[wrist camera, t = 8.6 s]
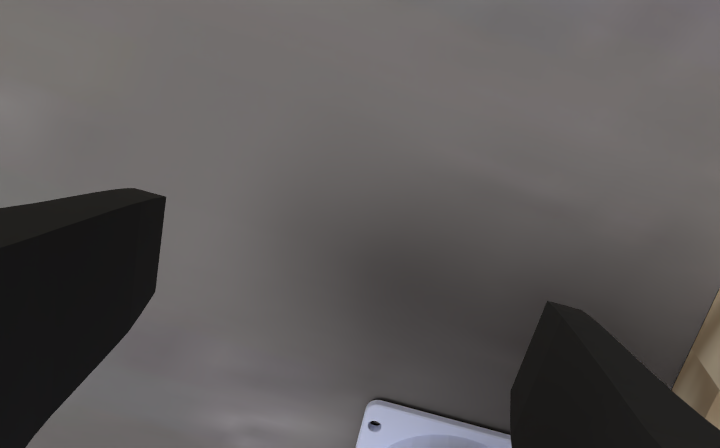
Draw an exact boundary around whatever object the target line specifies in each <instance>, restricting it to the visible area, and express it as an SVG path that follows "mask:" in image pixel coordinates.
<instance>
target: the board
mask: <svg viewBox="0 0 720 448" xmlns="http://www.w3.org/2000/svg"><path fill="white" fill-rule="evenodd" d="M672 391H673V392H674V393H675V394H676V395H677V396H679V397H680V398H681V399H682V400H683V401H685V402H686V403H687V404H688V405H689V406H691V407H692V408H693V409H694V410H695V411H697V412H698V413H699V414H700V415H701V416H703V417H704V418H705V419H706V420H708V421H709V422H710V423H711V424H713V425H714V426H715V427H717V428H718V429H719V430H720V289H719V291H718V293H717V295H716V298H715V300H714V302H713V304H712V306H711V308H710V310H709V312H708V314H707V317H706V319H705V321H704V323H703V325H702V327H701V329H700V331H699V333H698V336H697V338H696V340H695V342H694V344H693V346H692V348H691V350H690V352H689V355H688V357H687V359H686V361H685V363H684V365H683V367H682V369H681V371H680V373H679V376H678V378H677V380H676V382H675V384H674V386H673V388H672Z"/></svg>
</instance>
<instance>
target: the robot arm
mask: <svg viewBox="0 0 720 448" xmlns="http://www.w3.org/2000/svg"><path fill="white" fill-rule="evenodd" d="M165 202H166V197H165V196H161V195H157V194H154V193H150V192H146V191H143V190H139V189H135V188H125V189H115V190H108V191H101V192H95V193H89V194H84V195H78V196H72V197H67V198H61V199H56V200H50V201H44V202H39V203H33V204H26V205H19V206H12V207H6V208H0V448H25V447H26V446H27V444H28V443H29V442H30V440H31V439H32V438H33V436H34V435H35V434H36V433H37V432H38V431H39V429H40V428H41V427H42V426H43V425H44V423H45V422H46V421H47V420H48V419H49V418H50V416H51V415H52V414H53V413H54V412H55V411H56V410H57V409H58V408H59V407H60V405H61V404H62V403H63V402H64V401H65V400H66V399H67V398H68V397H69V396H70V395H71V394H72V393H73V391H74V390H75V389H76V388H77V387H78V386H79V385H80V384H81V383H82V382H83V381H84V380H85V379H86V377H87V376H88V375H89V374H90V373H91V372H92V371H93V370H94V369H95V368H96V367H97V366H98V365H99V363H100V362H101V361H102V360H103V359H104V358H105V357H106V356H107V355H108V354H109V353H110V351H111V350H112V349H113V348H114V347H115V346H116V345H117V344H118V343H119V342H120V340H121V339H122V338H123V337H124V336H125V335H126V334H127V333H128V331H129V330H130V329H131V327H132V326H133V324H134V323H135V321H136V320H137V319H138V317H139V316H140V314H141V313H142V311H143V310H144V308H145V307H146V305H147V304H148V302H149V300H150V299H151V297H152V296H153V294H154V293H155V289H156V280H157V271H158V263H159V254H160V245H161V237H162V228H163V219H164V211H165ZM371 421H377V422H379V423H380V425H378V426H375V425H372V424H371V423H370V422H371ZM510 428H511V435H508V434H504V433H501V432H497V431H493V430H490V429H486V428H482V427H478V426H475V425H471V424H467V423H464V422H460V421H456V420H453V419H449V418H445V417H441V416H438V415H434V414H430V413H427V412H423V411H419V410H415V409H412V408H408V407H404V406H401V405H397V404H393V403H390V402H386V401H382V400H373V401H371V402H369V403H368V405H367V406H366V409H365V413H364V417H363V421H362V425H361V428H360V432H359V436H358V440H357V444H356V447H355V448H720V430H719V429H718V428H717V427H715V426H714V425H713V424H711V423H710V422H709V421H708V420H706V419H705V418H704V417H703V416H701V415H700V414H699V413H698V412H697V411H695V410H694V409H693V408H692V407H691V406H689V405H688V404H687V403H686V402H685V401H683V400H682V399H681V398H680V397H679V396H677V395H676V394H675V393H674V392H673V391H671V390H670V389H669V388H668V387H667V386H666V385H665V384H664V383H662V382H661V381H660V380H659V379H658V378H657V377H656V376H655V375H653V374H652V373H651V372H650V371H649V370H648V369H647V368H646V367H645V366H644V365H643V364H641V363H640V362H639V361H638V360H637V359H636V358H635V357H634V356H633V355H632V354H631V353H630V352H629V351H628V350H626V349H625V348H624V347H623V346H622V345H621V344H620V343H619V342H618V341H617V340H616V339H615V338H614V337H613V336H612V335H610V334H609V333H608V332H607V331H606V330H605V329H604V328H603V327H602V326H601V325H599V324H598V323H597V322H596V321H595V320H594V319H592V318H591V317H590V316H589V315H587V314H586V313H584V312H583V311H581V310H579V309H575V308H571V307H568V306H564V305H560V304H557V303H553V302H549V301H547V303H546V306H545V308H544V311H543V313H542V315H541V318H540V320H539V323H538V325H537V328H536V330H535V333H534V335H533V338H532V340H531V342H530V345H529V347H528V350H527V352H526V355H525V357H524V360H523V362H522V365H521V367H520V370H519V372H518V374H517V377H516V379H515V382H514V384H513V387H512V389H511V406H510Z"/></svg>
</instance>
